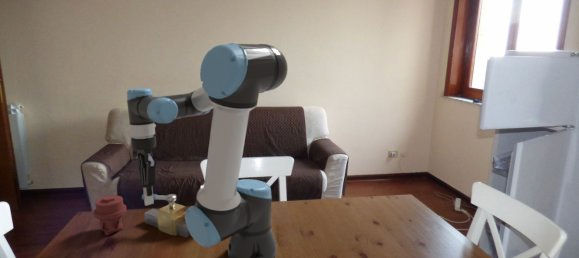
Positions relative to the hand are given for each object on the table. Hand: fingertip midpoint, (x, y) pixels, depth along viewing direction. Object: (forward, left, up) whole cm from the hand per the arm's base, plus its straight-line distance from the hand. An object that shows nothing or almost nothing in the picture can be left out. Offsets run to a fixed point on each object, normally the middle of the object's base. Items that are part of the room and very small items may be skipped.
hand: (149, 204), depth 124 cm
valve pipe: (-3, -5, -10) cm, 12 cm away
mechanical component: (+12, +7, -10) cm, 17 cm away
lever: (-2, -3, +1) cm, 4 cm away
